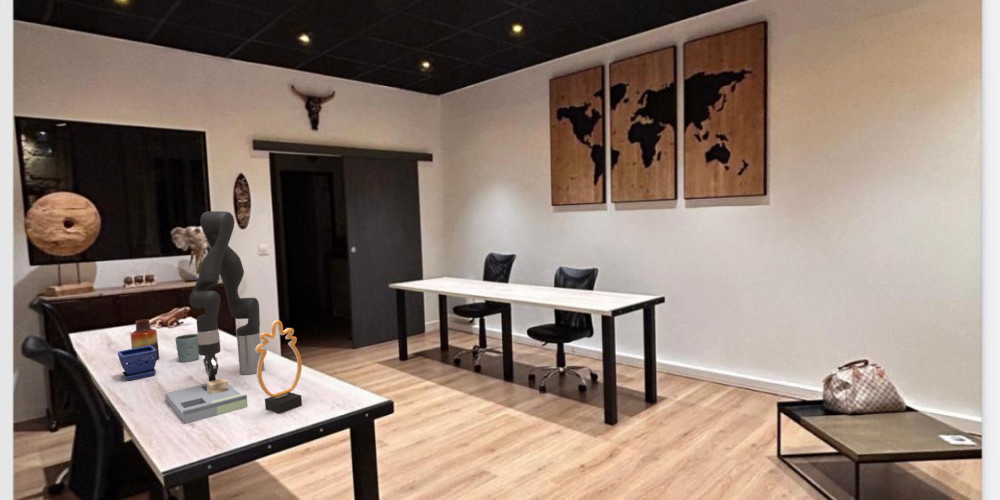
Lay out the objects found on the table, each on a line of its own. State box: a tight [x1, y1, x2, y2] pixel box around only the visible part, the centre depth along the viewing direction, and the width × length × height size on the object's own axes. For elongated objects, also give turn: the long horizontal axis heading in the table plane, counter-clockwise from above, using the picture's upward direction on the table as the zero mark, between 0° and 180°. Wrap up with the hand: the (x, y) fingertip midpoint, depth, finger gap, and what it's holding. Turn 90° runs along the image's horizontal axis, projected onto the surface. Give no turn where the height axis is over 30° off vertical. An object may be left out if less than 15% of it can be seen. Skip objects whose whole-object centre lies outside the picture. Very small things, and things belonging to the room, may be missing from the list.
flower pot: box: [117, 345, 157, 381], centre depth 232 cm, size 13×13×12 cm
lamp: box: [255, 319, 303, 415], centre depth 186 cm, size 17×9×32 cm, turn 145°
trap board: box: [165, 382, 249, 424], centre depth 194 cm, size 20×32×4 cm, turn 42°
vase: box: [130, 318, 160, 362], centre depth 258 cm, size 11×11×20 cm
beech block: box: [206, 378, 229, 395], centre depth 199 cm, size 6×6×4 cm
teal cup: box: [174, 333, 200, 364], centre depth 256 cm, size 10×10×12 cm
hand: (212, 384), depth 204 cm, fingers closed
